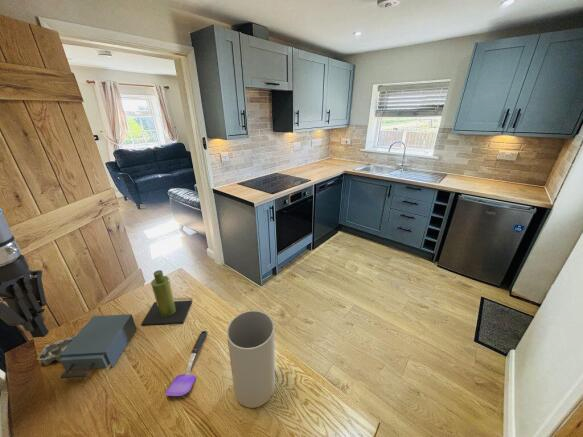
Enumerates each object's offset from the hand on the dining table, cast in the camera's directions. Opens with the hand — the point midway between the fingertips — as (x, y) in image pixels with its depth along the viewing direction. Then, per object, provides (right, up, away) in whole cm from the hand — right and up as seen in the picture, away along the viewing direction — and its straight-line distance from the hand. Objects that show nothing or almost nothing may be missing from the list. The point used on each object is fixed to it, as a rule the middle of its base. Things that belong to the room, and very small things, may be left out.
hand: (41, 334), depth 63 cm
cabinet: (0, -15, +21) cm, 26 cm away
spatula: (+33, -18, +18) cm, 42 cm away
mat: (+15, -9, +36) cm, 40 cm away
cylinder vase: (+56, -21, +11) cm, 61 cm away
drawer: (+1, -16, +18) cm, 24 cm away
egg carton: (-12, -16, +19) cm, 28 cm away
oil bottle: (+15, -8, +36) cm, 40 cm away
